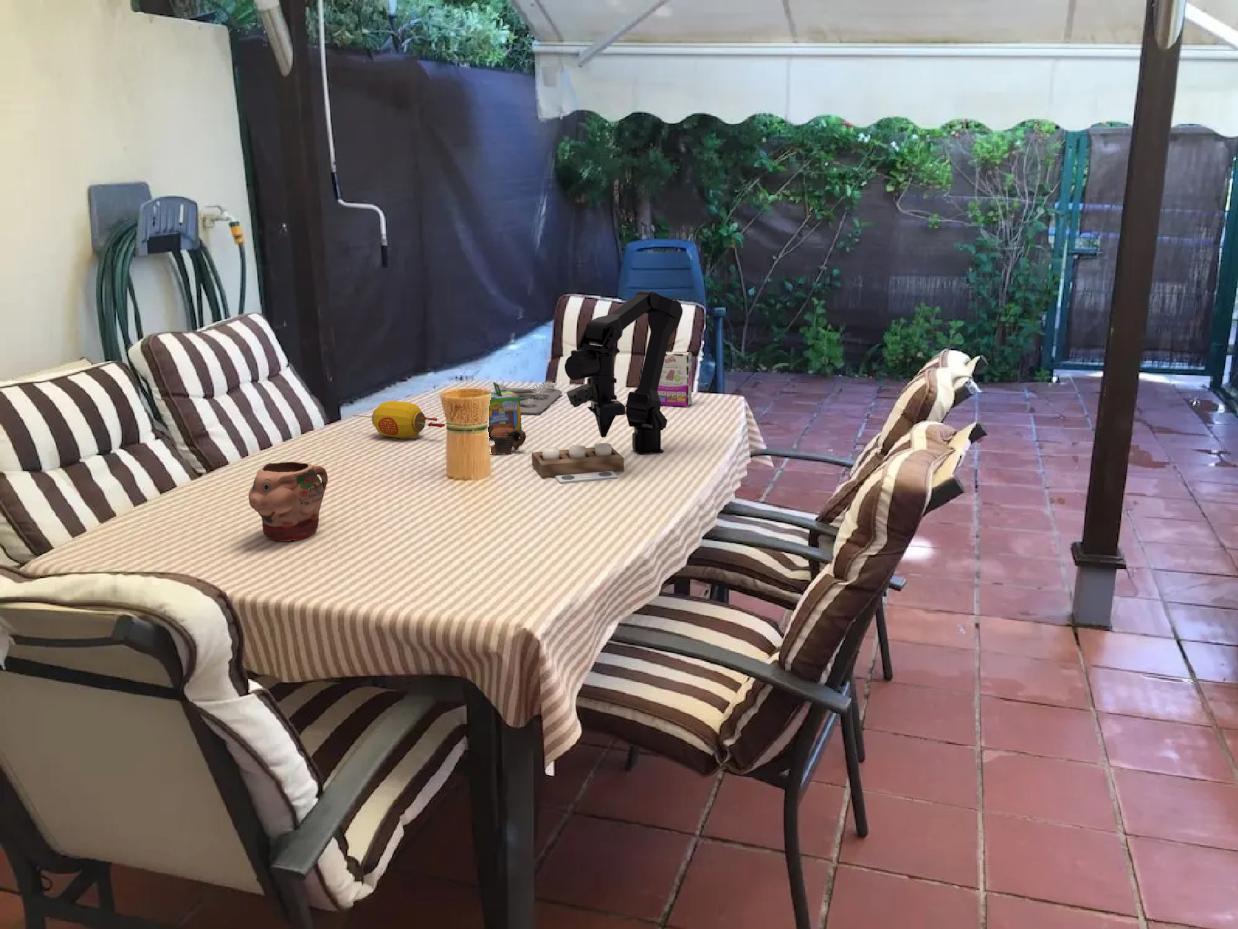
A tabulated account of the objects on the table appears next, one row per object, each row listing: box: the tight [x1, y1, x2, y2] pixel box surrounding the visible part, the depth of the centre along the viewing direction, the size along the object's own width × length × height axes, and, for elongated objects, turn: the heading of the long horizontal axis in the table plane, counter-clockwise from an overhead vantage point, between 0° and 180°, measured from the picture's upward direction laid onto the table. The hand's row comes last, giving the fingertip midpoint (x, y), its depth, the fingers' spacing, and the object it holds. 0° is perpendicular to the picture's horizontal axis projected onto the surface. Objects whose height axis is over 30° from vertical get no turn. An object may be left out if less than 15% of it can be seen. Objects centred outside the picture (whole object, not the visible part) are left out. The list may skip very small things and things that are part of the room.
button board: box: [531, 446, 625, 479], centre depth 247 cm, size 20×12×3 cm, turn 106°
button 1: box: [541, 446, 560, 461], centre depth 245 cm, size 4×4×3 cm
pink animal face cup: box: [248, 461, 329, 542], centre depth 202 cm, size 20×12×14 cm, turn 159°
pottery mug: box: [488, 424, 527, 455], centre depth 263 cm, size 12×10×8 cm
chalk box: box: [489, 381, 523, 441], centre depth 277 cm, size 9×9×15 cm
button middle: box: [568, 444, 586, 459], centre depth 246 cm, size 4×4×3 cm
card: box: [554, 471, 619, 484], centre depth 239 cm, size 14×5×1 cm, turn 106°
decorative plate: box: [497, 380, 563, 416], centre depth 318 cm, size 30×22×7 cm
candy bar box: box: [658, 351, 693, 408], centre depth 313 cm, size 11×5×16 cm, turn 73°
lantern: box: [352, 400, 446, 440], centre depth 277 cm, size 10×10×30 cm
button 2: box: [594, 442, 612, 456], centre depth 248 cm, size 4×4×3 cm
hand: (603, 437), depth 247 cm, fingers closed
